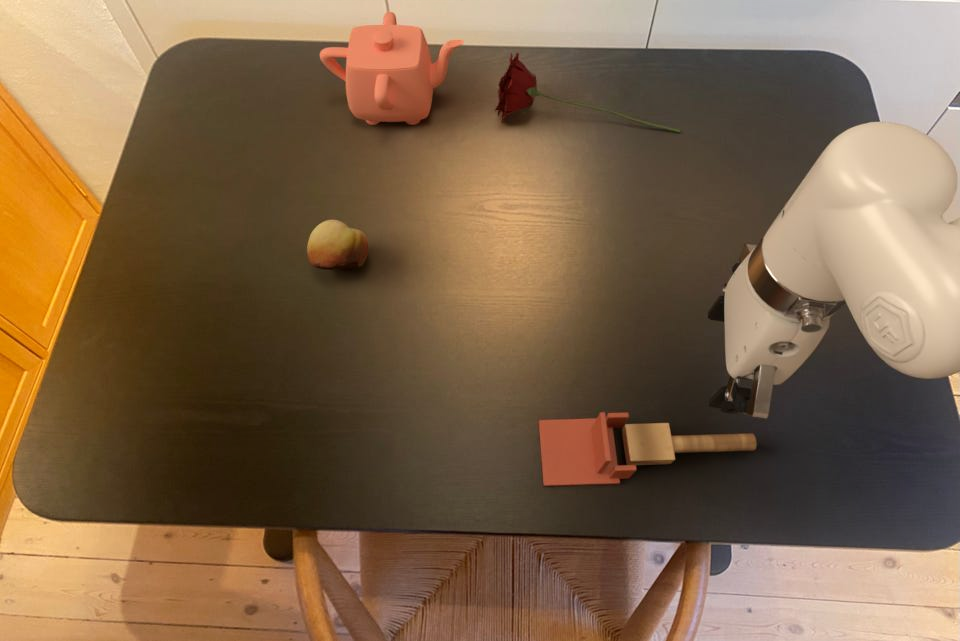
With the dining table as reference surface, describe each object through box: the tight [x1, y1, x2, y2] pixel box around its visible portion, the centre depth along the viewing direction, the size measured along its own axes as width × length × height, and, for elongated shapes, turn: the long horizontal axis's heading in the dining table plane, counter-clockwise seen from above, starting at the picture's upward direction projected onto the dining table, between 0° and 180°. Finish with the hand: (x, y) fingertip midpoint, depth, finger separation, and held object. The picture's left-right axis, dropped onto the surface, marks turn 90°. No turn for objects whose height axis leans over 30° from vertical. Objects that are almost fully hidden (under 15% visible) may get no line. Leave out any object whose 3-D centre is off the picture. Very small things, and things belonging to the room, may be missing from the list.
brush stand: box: [538, 411, 637, 487], centre depth 71 cm, size 10×8×7 cm
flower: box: [494, 51, 681, 134], centre depth 96 cm, size 11×10×30 cm
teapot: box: [319, 11, 465, 126], centre depth 94 cm, size 17×16×13 cm
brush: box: [621, 422, 758, 466], centre depth 72 cm, size 15×4×3 cm, turn 92°
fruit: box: [306, 219, 369, 272], centre depth 82 cm, size 8×8×8 cm
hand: (723, 360), depth 61 cm, fingers open, 9 cm apart
